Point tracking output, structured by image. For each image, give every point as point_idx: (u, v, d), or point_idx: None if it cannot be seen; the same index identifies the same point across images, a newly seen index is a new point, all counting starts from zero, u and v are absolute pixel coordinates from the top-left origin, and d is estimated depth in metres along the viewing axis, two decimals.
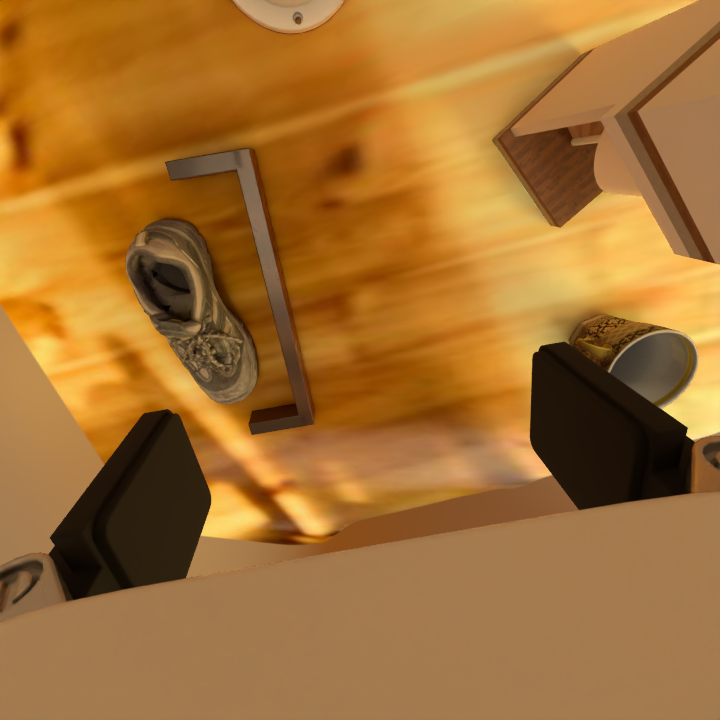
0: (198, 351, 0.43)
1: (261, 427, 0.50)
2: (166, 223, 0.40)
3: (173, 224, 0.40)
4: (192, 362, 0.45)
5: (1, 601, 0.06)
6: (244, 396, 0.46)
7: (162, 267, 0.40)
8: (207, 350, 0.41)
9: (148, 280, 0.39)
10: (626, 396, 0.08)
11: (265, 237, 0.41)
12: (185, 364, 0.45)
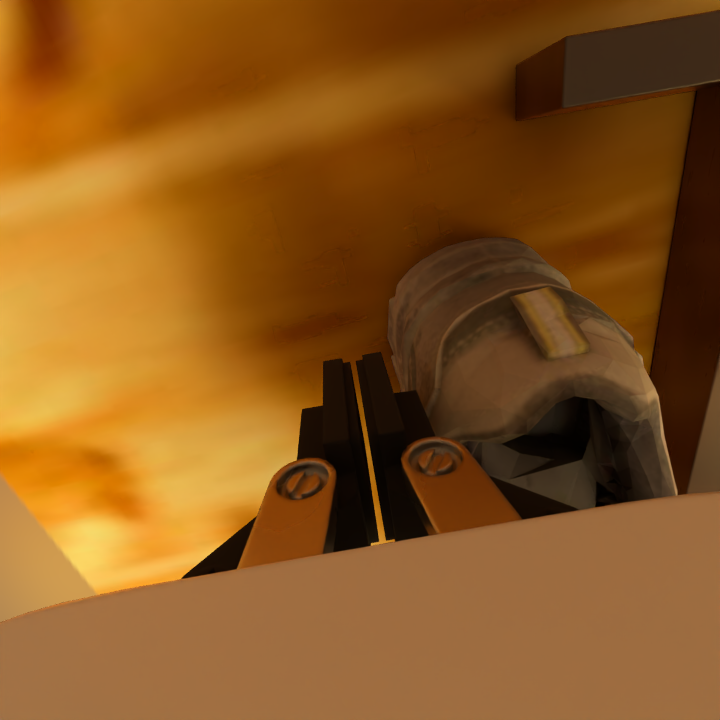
0: None
1: None
2: (516, 251, 0.13)
3: (529, 254, 0.13)
4: None
5: (300, 491, 0.07)
6: None
7: None
8: None
9: None
10: (384, 402, 0.09)
11: None
12: None
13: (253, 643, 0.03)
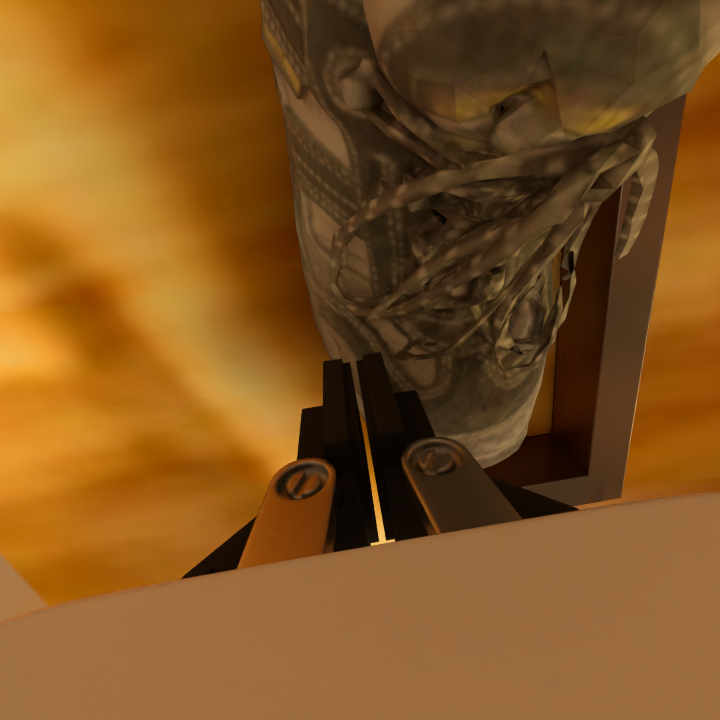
0: (446, 274, 0.10)
1: None
2: None
3: None
4: (377, 322, 0.12)
5: (300, 491, 0.07)
6: (510, 454, 0.14)
7: None
8: (547, 260, 0.08)
9: None
10: (384, 402, 0.09)
11: None
12: (343, 328, 0.12)
13: (253, 643, 0.03)
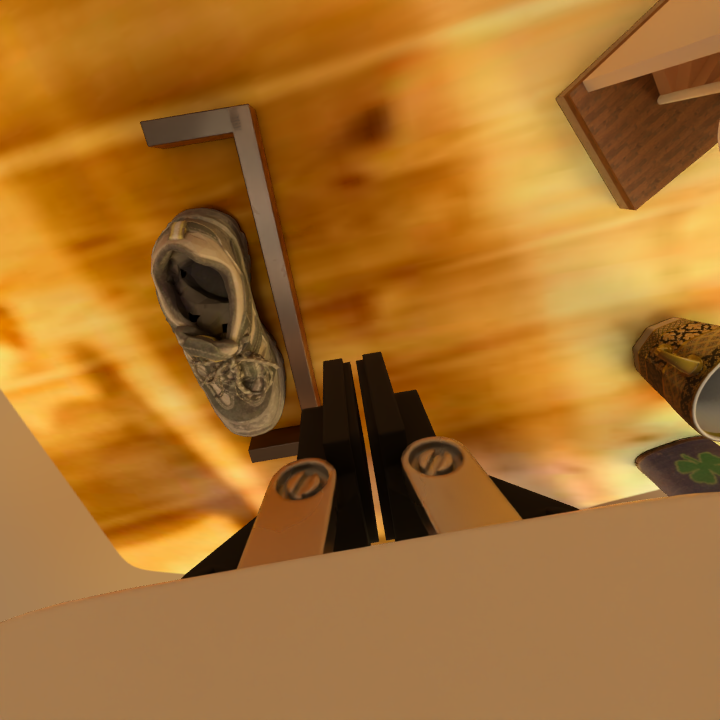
0: (223, 373, 0.35)
1: (264, 454, 0.41)
2: (206, 213, 0.32)
3: (214, 215, 0.32)
4: (212, 383, 0.36)
5: (300, 491, 0.07)
6: (268, 429, 0.39)
7: (193, 266, 0.32)
8: (237, 375, 0.33)
9: (175, 281, 0.31)
10: (384, 402, 0.09)
11: (269, 220, 0.32)
12: (202, 384, 0.37)
13: (253, 643, 0.03)
